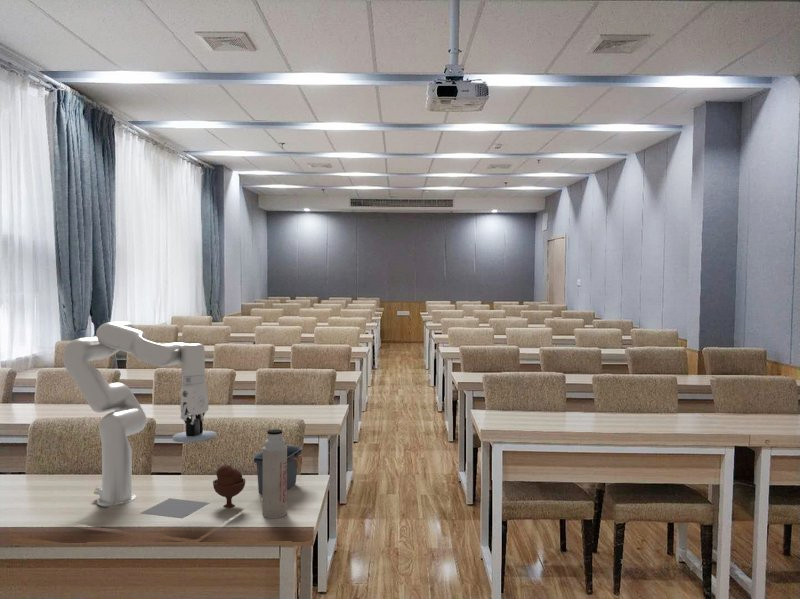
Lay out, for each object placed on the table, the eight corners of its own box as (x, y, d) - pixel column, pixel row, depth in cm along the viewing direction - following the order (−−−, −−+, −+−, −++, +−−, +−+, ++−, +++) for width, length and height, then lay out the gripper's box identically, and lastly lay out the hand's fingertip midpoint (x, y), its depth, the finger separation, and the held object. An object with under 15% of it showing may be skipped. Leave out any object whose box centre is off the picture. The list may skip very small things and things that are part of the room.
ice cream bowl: (226, 516, 220) (227, 471, 220) (205, 509, 227) (205, 465, 226) (252, 508, 228) (252, 464, 228) (231, 501, 235) (231, 459, 235)
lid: (163, 441, 220) (163, 423, 220) (188, 432, 234) (188, 415, 234) (201, 443, 216) (200, 424, 216) (224, 434, 230) (223, 416, 230)
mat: (140, 516, 220) (140, 513, 220) (169, 501, 235) (169, 498, 235) (182, 521, 215) (182, 518, 215) (209, 505, 231) (209, 502, 231)
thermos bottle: (291, 512, 224) (292, 429, 224) (275, 519, 217) (275, 433, 217) (273, 508, 228) (274, 426, 228) (257, 515, 222) (257, 430, 221)
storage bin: (272, 480, 262) (272, 443, 261) (309, 482, 258) (310, 445, 258) (249, 496, 241) (249, 457, 240) (289, 500, 238) (290, 459, 237)
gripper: (188, 384, 216) (189, 440, 216) (216, 377, 232) (217, 430, 232) (168, 383, 218) (169, 439, 218) (197, 376, 234) (198, 429, 234)
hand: (194, 434), depth 225 cm, fingers closed on lid, 3 cm apart
